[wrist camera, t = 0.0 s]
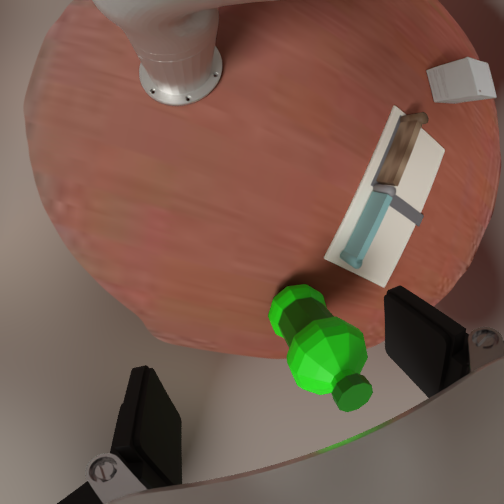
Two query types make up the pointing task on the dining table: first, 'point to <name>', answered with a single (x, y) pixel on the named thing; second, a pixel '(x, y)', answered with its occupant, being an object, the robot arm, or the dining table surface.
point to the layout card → (400, 209)
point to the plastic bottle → (321, 347)
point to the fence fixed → (401, 148)
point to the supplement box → (461, 81)
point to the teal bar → (368, 225)
